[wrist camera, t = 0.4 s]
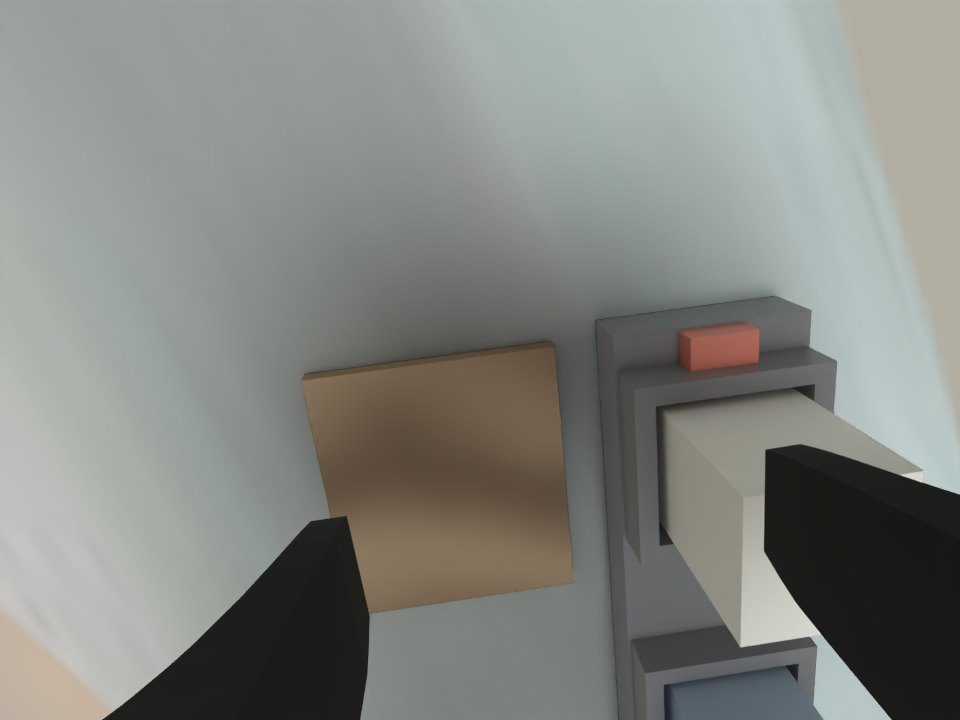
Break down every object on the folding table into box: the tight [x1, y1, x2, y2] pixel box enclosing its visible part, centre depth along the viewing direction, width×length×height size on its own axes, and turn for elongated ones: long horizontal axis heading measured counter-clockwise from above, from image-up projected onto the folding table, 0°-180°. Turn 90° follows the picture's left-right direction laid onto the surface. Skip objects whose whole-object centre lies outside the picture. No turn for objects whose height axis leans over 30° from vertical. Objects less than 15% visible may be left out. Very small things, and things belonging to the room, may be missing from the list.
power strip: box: [596, 296, 837, 720], centre depth 22 cm, size 24×6×4 cm, turn 7°
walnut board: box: [301, 341, 574, 614], centre depth 21 cm, size 9×8×1 cm
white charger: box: [656, 387, 924, 647], centre depth 17 cm, size 4×4×6 cm
